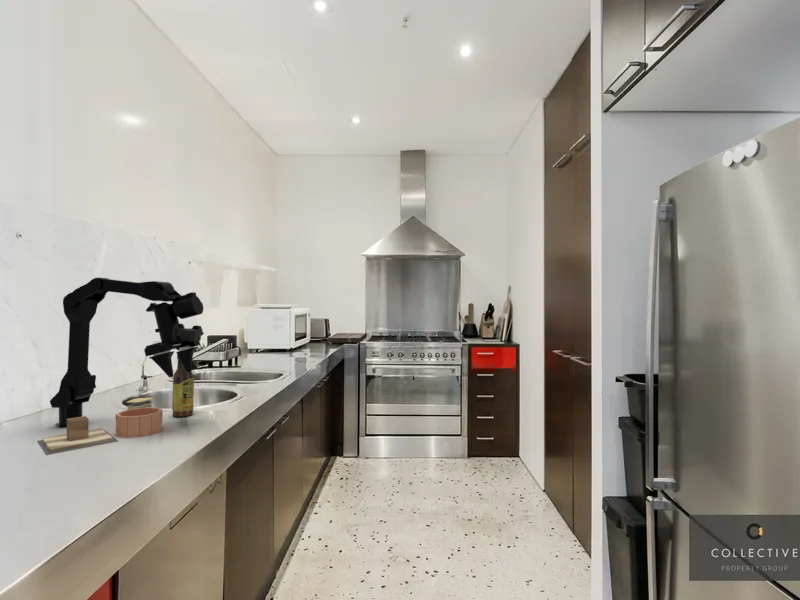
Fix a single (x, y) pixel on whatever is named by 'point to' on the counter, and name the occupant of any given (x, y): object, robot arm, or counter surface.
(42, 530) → the counter surface
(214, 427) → the counter surface
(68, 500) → the counter surface
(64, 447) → the lid
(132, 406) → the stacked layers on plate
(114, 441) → the mat
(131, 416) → the bowl
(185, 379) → the sauce bottle
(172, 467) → the counter surface
